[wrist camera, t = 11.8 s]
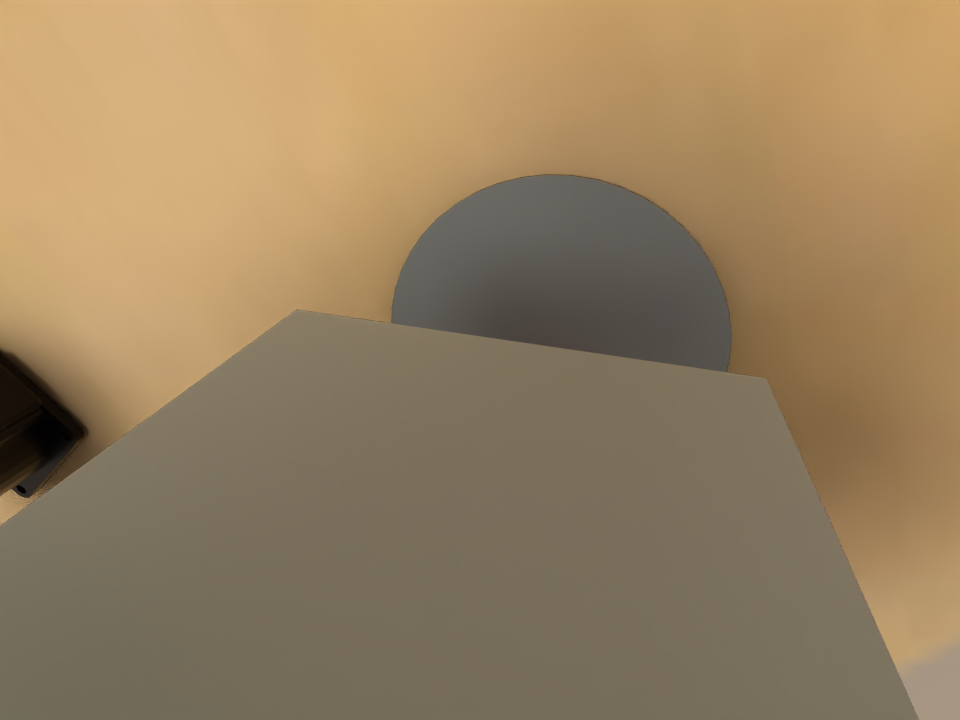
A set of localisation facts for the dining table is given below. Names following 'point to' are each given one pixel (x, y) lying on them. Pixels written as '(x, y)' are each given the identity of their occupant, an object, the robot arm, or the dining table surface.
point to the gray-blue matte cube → (440, 547)
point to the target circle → (568, 274)
